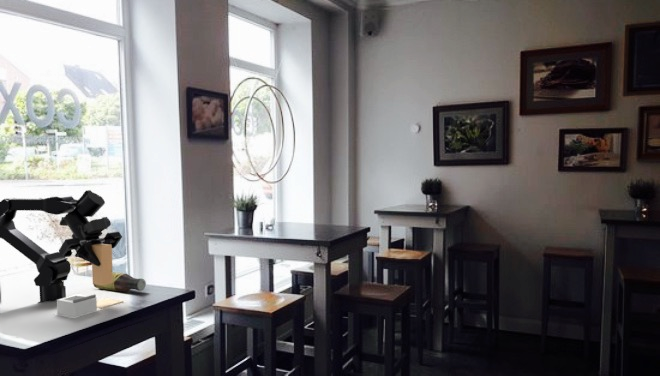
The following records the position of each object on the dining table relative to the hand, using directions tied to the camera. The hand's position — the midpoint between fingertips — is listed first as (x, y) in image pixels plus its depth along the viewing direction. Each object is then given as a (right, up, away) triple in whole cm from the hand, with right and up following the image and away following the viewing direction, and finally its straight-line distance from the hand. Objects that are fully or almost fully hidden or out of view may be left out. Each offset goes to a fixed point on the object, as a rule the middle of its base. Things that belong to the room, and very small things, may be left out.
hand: (105, 264), depth 151 cm
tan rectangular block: (-1, -6, +1) cm, 6 cm away
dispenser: (-3, -14, -2) cm, 14 cm away
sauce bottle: (-14, -9, +24) cm, 30 cm away
